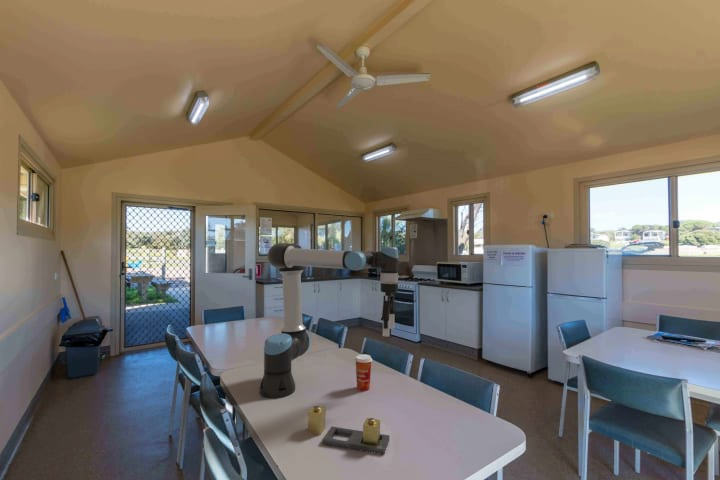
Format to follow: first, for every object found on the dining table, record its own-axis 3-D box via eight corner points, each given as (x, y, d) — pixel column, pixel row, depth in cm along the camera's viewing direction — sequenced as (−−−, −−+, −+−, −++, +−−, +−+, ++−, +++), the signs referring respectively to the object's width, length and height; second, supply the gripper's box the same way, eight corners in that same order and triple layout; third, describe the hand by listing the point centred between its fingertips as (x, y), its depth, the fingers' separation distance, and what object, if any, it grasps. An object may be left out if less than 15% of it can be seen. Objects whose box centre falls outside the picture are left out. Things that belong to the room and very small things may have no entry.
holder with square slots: (322, 444, 107) (323, 419, 108) (331, 431, 115) (331, 407, 115) (384, 454, 102) (384, 428, 102) (389, 440, 110) (389, 416, 110)
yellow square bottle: (308, 433, 114) (308, 409, 114) (313, 426, 118) (313, 403, 118) (320, 435, 113) (320, 411, 113) (325, 428, 117) (325, 405, 117)
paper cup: (351, 389, 149) (351, 357, 149) (359, 383, 156) (360, 353, 156) (367, 393, 145) (367, 360, 146) (375, 387, 152) (375, 355, 152)
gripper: (393, 286, 132) (392, 340, 132) (401, 280, 157) (401, 326, 156) (374, 285, 134) (374, 338, 134) (385, 279, 158) (385, 325, 158)
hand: (388, 332), depth 145 cm, fingers open, 13 cm apart
